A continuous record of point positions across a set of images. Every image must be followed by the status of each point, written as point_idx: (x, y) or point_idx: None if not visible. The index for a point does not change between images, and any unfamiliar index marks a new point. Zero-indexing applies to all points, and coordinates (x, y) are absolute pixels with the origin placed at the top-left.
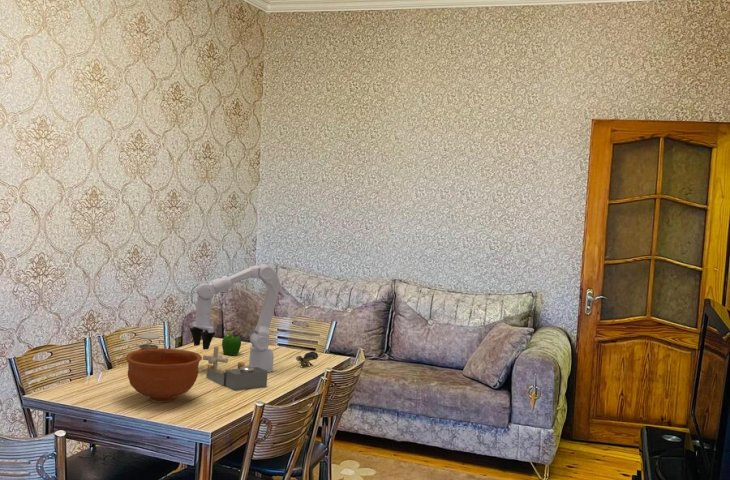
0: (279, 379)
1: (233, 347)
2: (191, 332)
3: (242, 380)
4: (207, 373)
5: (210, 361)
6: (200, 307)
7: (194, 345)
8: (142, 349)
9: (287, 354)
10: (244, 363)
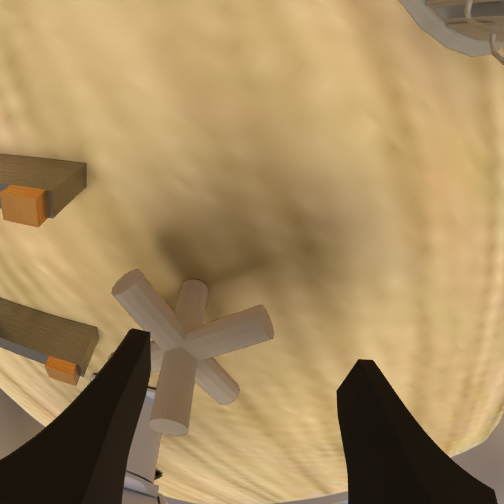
0: (13, 366)
1: None
2: (455, 474)
3: None
4: (63, 173)
5: (124, 284)
6: None
7: (365, 360)
8: None
9: (267, 490)
10: (49, 376)
